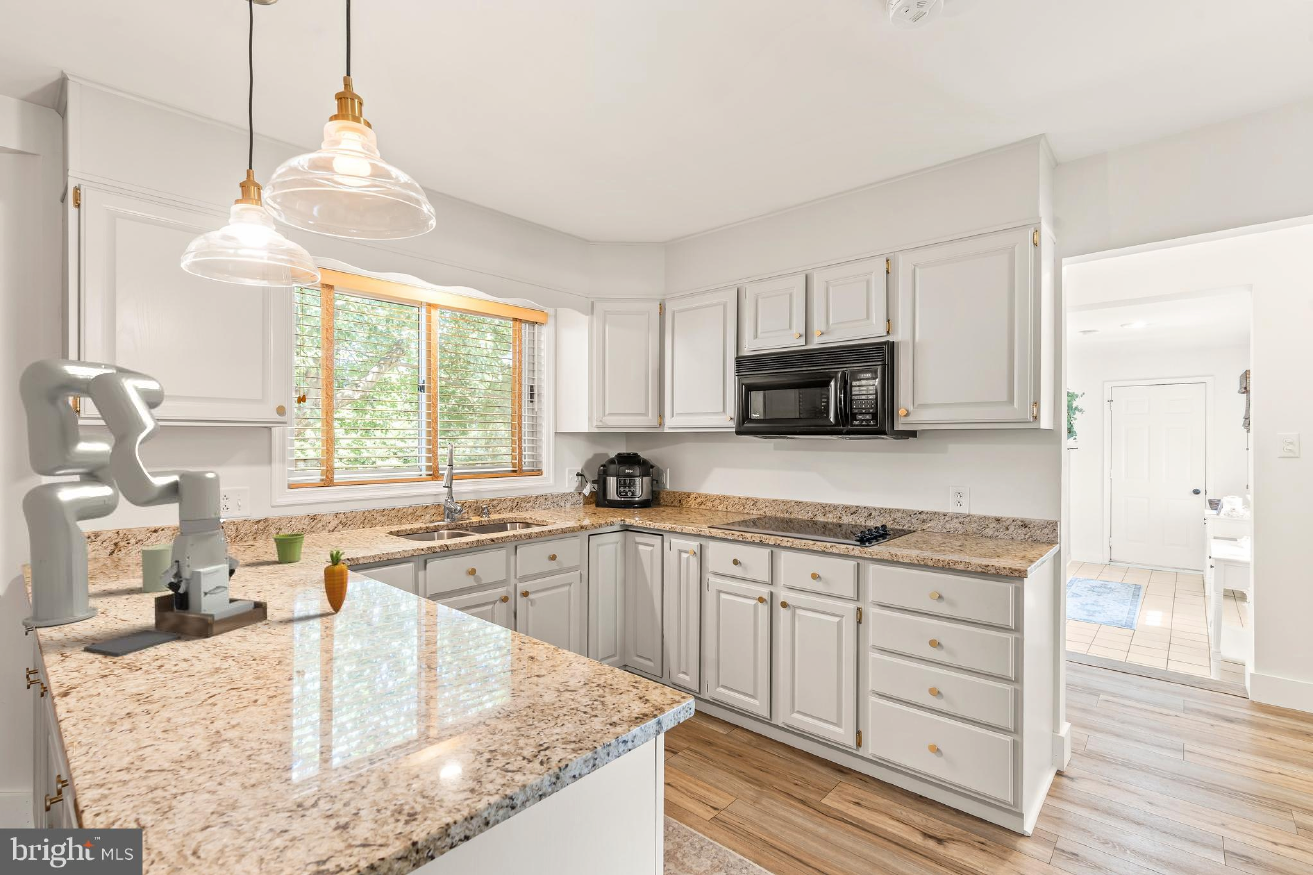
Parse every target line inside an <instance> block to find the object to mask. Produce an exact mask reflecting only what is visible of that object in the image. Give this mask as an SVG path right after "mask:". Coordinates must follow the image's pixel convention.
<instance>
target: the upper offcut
mask: <svg viewBox="0 0 1313 875" xmlns="http://www.w3.org/2000/svg"><path fill="white" fill-rule="evenodd" d="M253 609H254V602H253V601H236V602H233V603H230V604H227V605H223V606H220V607H217V608H214V609H210V610H207V611H204V612H201V613H199V615H200V616H208V617H213V621H214V620H218V619H221V618H225V617H228V616H232V615H235V614H239V613H242V612H246V611H249V610H253Z"/></svg>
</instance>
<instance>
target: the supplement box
mask: <svg viewBox="0 0 1313 875" xmlns="http://www.w3.org/2000/svg"><path fill="white" fill-rule="evenodd" d="M179 575H180V577H182V574H181V573H180V570H178V571H177V572H176V573H175V574H174V577H175V576H179ZM175 578H176V579H177V578H178V577H175ZM176 579H174V582H175V581H176ZM181 583H182V581H181ZM185 592H188V610H185V611H182V610H176V607H175V605H174V612H178V613H186V614H193V615H199V613H201V612H204V611H207V610H210V609H214V608H217V607H220V606H223V605H227V604H229V598H230V581H229V564H228V565H226V564H225V565H220V566H214V567H209V568H204V569H200V570H195V571H194V572H193V576H192V579H191V580H190V582H189V584H188V586H187V588H186V589H185Z"/></svg>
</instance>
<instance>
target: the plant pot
mask: <svg viewBox="0 0 1313 875" xmlns="http://www.w3.org/2000/svg"><path fill="white" fill-rule="evenodd" d="M305 536H306V534H305V533H281V534H277V535H273V536H272V539H274V543H275V547H276V548H275V549H276V553H277V554H276V555H277V559H278V563H280V564H289V563H296V562H300V560H301V557H302V549H303V542H304V540H305Z"/></svg>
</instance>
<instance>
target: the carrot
mask: <svg viewBox="0 0 1313 875" xmlns="http://www.w3.org/2000/svg"><path fill="white" fill-rule="evenodd" d="M345 553H346V552H345V551H342V552H341V549H337V550H336V552H335V551H334V550H330V552H329V557H330V561H331V564H329V565H327V566H325V567H324V569H323V578H324V589H325V593H326V598H327V601H328V603H329V606H330V607H331V609H332V611H333V612H334V613H335V614H338V613H339V612H340V611H341V609H342V608H343V605H344V602H345V599H346V595H347V591H348V590H347V589H348V579H349V578H348V574H349V573H348V572H349V571H348V570H349V569H348V566H347V565H346V564H343V563H340V562H341V560H342V559H343V558H342V556H343V555H345Z"/></svg>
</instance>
